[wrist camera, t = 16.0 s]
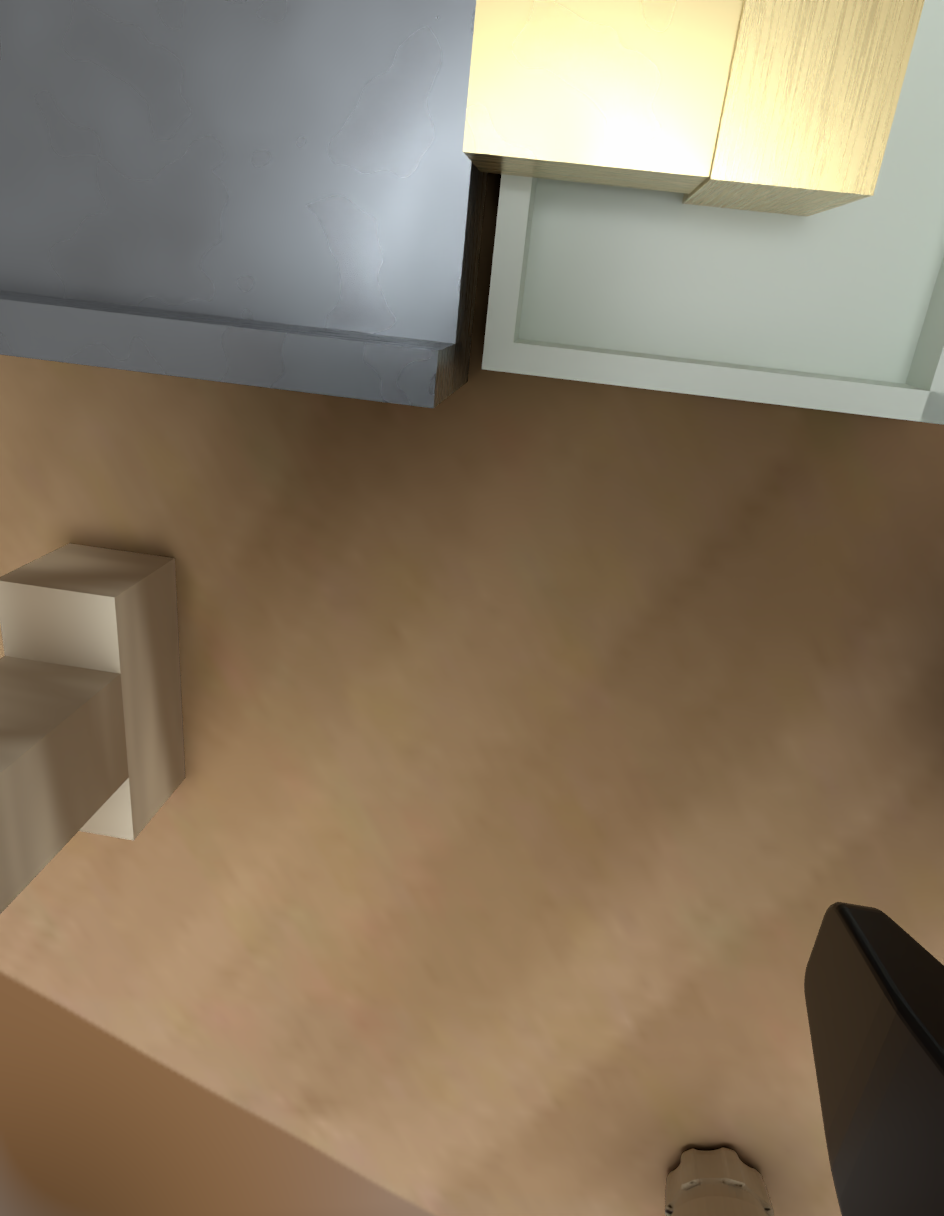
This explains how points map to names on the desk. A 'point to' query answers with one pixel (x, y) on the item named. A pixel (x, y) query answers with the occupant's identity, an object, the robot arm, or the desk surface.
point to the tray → (739, 281)
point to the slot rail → (242, 191)
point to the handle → (715, 1186)
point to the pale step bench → (85, 702)
